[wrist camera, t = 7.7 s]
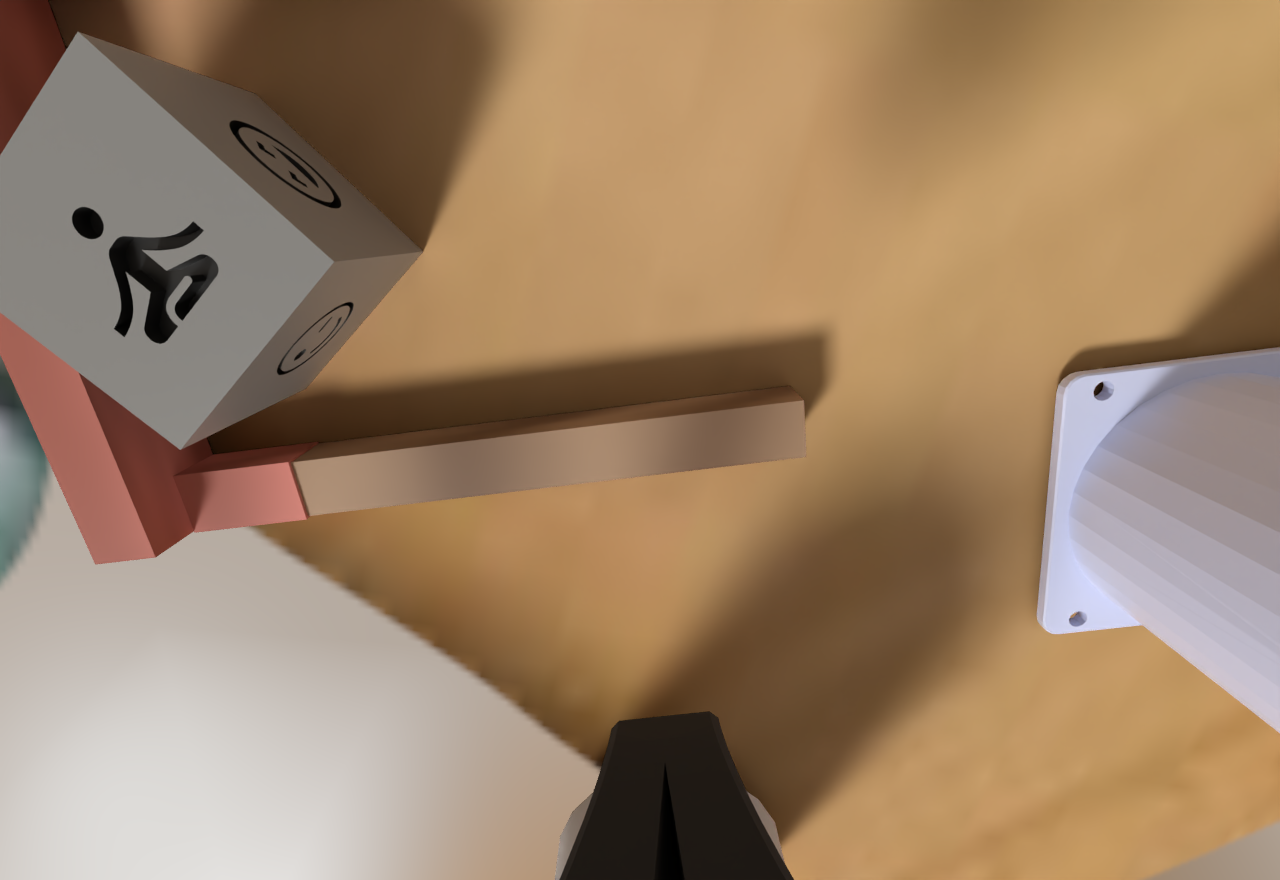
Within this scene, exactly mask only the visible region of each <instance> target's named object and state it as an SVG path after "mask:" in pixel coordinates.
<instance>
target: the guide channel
mask: <svg viewBox="0 0 1280 880" xmlns="http://www.w3.org/2000/svg"><path fill="white" fill-rule="evenodd" d="M65 51H66V49H65V46H64V43H63V40H62V38H61V35H60V32H59V29H58V27H57V24H56V21H55V18H54V15H53V13H52V10H51V7H50V4H49V2H48V0H0V155H1V153H2V152H3V150H4V148H5V147H6V145H7V144H8V142H9V141H10V139H11V137H12V136H13V134H14V133H15V131H16V129H17V128H18V126H19V125H20V123H21V121H22V120H23V118H24V117H25V115H26V113H27V112H28V110H29V109H30V107H31V105H32V104H33V102H34V101H35V99H36V97H37V96H38V94H39V93H40V91H41V89H42V88H43V86H44V85H45V83H46V81H47V80H48V78H49V77H50V75H51V73H52V72H53V70H54V69H55V67H56V66H57V64H58V62H59V61H60V59H61V58H62V56H63V54H64V53H65ZM0 355H1V357H2V359H3V361H4V364H5V366H6V368H7V370H8V372H9V375H10V377H11V379H12V381H13V383H14V386H15V388H16V390H17V392H18V395H19V397H20V399H21V401H22V403H23V406H24V408H25V410H26V412H27V414H28V417H29V419H30V421H31V423H32V425H33V428H34V430H35V432H36V434H37V436H38V439H39V441H40V443H41V445H42V448H43V450H44V452H45V454H46V456H47V459H48V461H49V463H50V465H51V467H52V470H53V472H54V474H55V476H56V478H57V481H58V483H59V485H60V487H61V489H62V492H63V494H64V496H65V498H66V501H67V503H68V505H69V507H70V509H71V512H72V514H73V516H74V518H75V520H76V523H77V525H78V527H79V529H80V531H81V533H82V536H83V538H84V540H85V543H86V545H87V547H88V549H89V551H90V554H91V556H92V558H93V560H94V562H95V564H103V563H112V562H120V561H129V560H138V559H146V558H154V557H157V556H158V555H160V554H161V553H162V552H164V551H165V550H167V549H168V548H170V547H171V546H173V545H174V544H176V543H177V542H179V541H180V540H182V539H183V538H184V537H186V536H187V535H189V534H190V533H192V532H193V531H194V532H204V531H211V530H220V529H229V528H238V527H246V526H255V525H263V524H271V523H280V522H288V521H297V520H305V519H308V518H309V517H310V516H312V515H320V514H329V513H337V512H345V511H354V510H362V509H371V508H379V507H388V506H396V505H405V504H413V503H422V502H430V501H438V500H447V499H455V498H464V497H472V496H481V495H489V494H498V493H506V492H515V491H523V490H531V489H540V488H548V487H557V486H565V485H574V484H582V483H591V482H599V481H608V480H616V479H624V478H633V477H641V476H650V475H658V474H667V473H675V472H684V471H692V470H700V469H709V468H717V467H726V466H734V465H743V464H751V463H760V462H768V461H777V460H785V459H793V458H802V457H806V437H805V413H804V400H803V399H802V398H801V397H800V396H799V395H798V394H797V393H796V392H795V391H794V390H793V388H792V387H791V386H784V387H776V388H768V389H760V390H752V391H743V392H735V393H727V394H719V395H711V396H702V397H694V398H686V399H678V400H670V401H662V402H653V403H645V404H637V405H629V406H621V407H612V408H604V409H596V410H588V411H580V412H572V413H563V414H555V415H547V416H539V417H531V418H522V419H514V420H506V421H498V422H490V423H482V424H473V425H465V426H457V427H449V428H441V429H432V430H424V431H416V432H408V433H400V434H392V435H383V436H375V437H367V438H359V439H351V440H342V441H334V442H326V443H319V442H312V443H303V444H295V445H287V446H279V447H271V448H263V449H254V450H246V451H238V452H230V453H222V454H214V455H213V454H212V451H211V448H210V445H209V443H208V440H207V437H206V438H204V439H202V440H200V441H198V442H196V443H194V444H192V445H189V446H187V447H185V448H183V449H181V450H180V449H178V448H177V447H176V446H174V445H173V444H172V443H171V442H169V441H168V440H167V439H165V438H164V437H163V436H161V435H160V434H159V433H157V432H156V431H155V430H154V429H152V428H151V427H150V426H148V425H147V424H146V423H144V422H143V421H142V420H140V419H139V418H138V417H136V416H135V415H134V414H133V413H131V412H130V411H129V410H127V409H126V408H125V407H123V406H122V405H121V404H119V403H118V402H117V401H115V400H114V399H113V398H112V397H110V396H109V395H108V394H106V393H105V392H104V391H102V390H101V389H100V388H98V387H97V386H96V385H95V384H93V383H92V382H91V381H89V380H88V379H87V378H85V377H84V376H83V375H81V374H80V373H79V372H77V371H76V370H75V369H74V368H72V367H71V366H70V365H68V364H67V363H66V362H64V361H63V360H62V359H60V358H59V357H58V356H56V355H55V354H54V353H53V352H51V351H50V350H49V349H47V348H46V347H45V346H43V345H42V344H41V343H39V342H38V341H37V340H36V339H34V338H33V337H32V336H30V335H29V334H28V333H26V332H25V331H24V330H22V329H21V328H20V327H18V326H17V325H16V324H15V323H13V322H12V321H11V320H9V319H8V318H7V317H5V316H4V315H3V314H1V313H0Z"/></svg>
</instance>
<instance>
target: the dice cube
mask: <svg viewBox="0 0 1280 880" xmlns="http://www.w3.org/2000/svg"><path fill="white" fill-rule="evenodd" d="M422 253H423V251H422V250H421V249H420V248H419V247H418V246H417V245H416V244H415V243H414V242H413V241H412V240H410V239H409V238H408V237H407V236H406V235H405V234H404V233H403V232H402V231H401V230H400V229H399V228H398V227H397V226H396V225H394V224H393V223H392V222H391V221H390V220H389V219H388V218H387V217H386V216H385V215H384V214H383V213H382V212H381V211H380V210H379V209H377V208H376V207H375V206H374V205H373V204H372V203H371V202H370V201H369V200H368V199H367V198H366V197H365V196H364V195H363V194H361V193H360V192H359V191H358V190H357V189H356V188H355V187H354V186H353V185H352V184H351V183H350V182H349V181H348V180H347V179H345V178H344V177H343V176H342V175H341V174H340V173H339V172H338V171H337V170H336V169H335V168H334V167H333V166H332V165H331V164H330V163H328V162H327V161H326V160H325V159H324V158H323V157H322V156H321V155H320V154H319V153H318V152H317V151H316V150H315V149H314V148H312V147H311V146H310V145H309V144H308V143H307V142H306V141H305V140H304V139H303V138H302V137H301V136H300V135H299V134H298V133H296V132H295V131H294V130H293V129H292V128H291V127H290V126H289V125H288V124H287V123H286V122H285V121H284V120H283V119H282V118H281V117H279V116H278V115H277V114H276V113H275V112H274V111H273V110H272V109H271V108H270V107H269V106H268V105H267V104H266V103H265V102H263V101H262V100H261V99H260V98H259V97H258V96H257V95H256V94H255V93H252V92H249V91H246V90H243V89H241V88H238V87H235V86H232V85H229V84H226V83H223V82H221V81H218V80H215V79H212V78H209V77H206V76H203V75H201V74H198V73H195V72H192V71H189V70H186V69H183V68H181V67H178V66H175V65H172V64H169V63H166V62H163V61H161V60H158V59H155V58H152V57H149V56H146V55H143V54H141V53H138V52H135V51H132V50H129V49H126V48H123V47H121V46H118V45H115V44H112V43H109V42H106V41H103V40H101V39H98V38H95V37H92V36H89V35H86V34H83V33H81V32H77V34H76V35H75V37H74V38H73V40H72V42H71V43H70V45H69V46H68V48H67V50H66V51H65V53H64V54H63V56H62V58H61V59H60V61H59V62H58V64H57V66H56V67H55V69H54V70H53V72H52V73H51V75H50V77H49V78H48V80H47V81H46V83H45V85H44V86H43V88H42V89H41V91H40V93H39V94H38V96H37V97H36V99H35V101H34V102H33V104H32V105H31V107H30V109H29V110H28V112H27V113H26V115H25V117H24V118H23V120H22V121H21V123H20V125H19V126H18V128H17V129H16V131H15V133H14V134H13V136H12V137H11V139H10V141H9V142H8V144H7V145H6V147H5V148H4V150H3V152H2V153H1V155H0V313H1V314H3V315H4V316H5V317H7V318H8V319H9V320H11V321H12V322H13V323H15V324H16V325H17V326H18V327H20V328H21V329H22V330H24V331H25V332H26V333H28V334H29V335H30V336H32V337H33V338H34V339H36V340H37V341H38V342H39V343H41V344H42V345H43V346H45V347H46V348H47V349H49V350H50V351H51V352H53V353H54V354H55V355H56V356H58V357H59V358H60V359H62V360H63V361H64V362H66V363H67V364H68V365H70V366H71V367H72V368H74V369H75V370H76V371H77V372H79V373H80V374H81V375H83V376H84V377H85V378H87V379H88V380H89V381H91V382H92V383H93V384H95V385H96V386H97V387H98V388H100V389H101V390H102V391H104V392H105V393H106V394H108V395H109V396H110V397H112V398H113V399H114V400H115V401H117V402H118V403H119V404H121V405H122V406H123V407H125V408H126V409H127V410H129V411H130V412H131V413H133V414H134V415H135V416H136V417H138V418H139V419H140V420H142V421H143V422H144V423H146V424H147V425H148V426H150V427H151V428H152V429H154V430H155V431H156V432H157V433H159V434H160V435H161V436H163V437H164V438H165V439H167V440H168V441H169V442H171V443H172V444H173V445H174V446H176V447H177V448H178V449H180V450H181V449H183V448H185V447H187V446H189V445H192V444H194V443H196V442H198V441H200V440H202V439H204V438H206V437H208V436H210V435H212V434H214V433H216V432H218V431H220V430H222V429H224V428H226V427H228V426H230V425H232V424H235V423H237V422H239V421H241V420H243V419H245V418H247V417H249V416H251V415H253V414H255V413H257V412H259V411H261V410H263V409H265V408H267V407H269V406H271V405H273V404H275V403H278V402H280V401H282V400H284V399H286V398H288V397H290V396H292V395H294V394H296V393H298V392H300V391H302V390H304V389H306V388H307V387H308V386H309V384H310V383H311V382H312V381H313V380H314V379H315V377H316V376H317V375H318V374H319V373H320V372H321V370H322V369H323V368H324V367H325V366H326V365H327V363H328V362H329V361H330V360H331V359H332V358H333V356H334V355H335V354H336V353H337V352H338V351H339V349H340V348H341V347H342V346H343V345H344V344H345V342H346V341H347V340H348V339H349V338H350V337H351V335H352V334H353V333H354V332H355V331H356V330H357V328H358V327H359V326H360V325H361V324H362V323H363V321H364V320H365V319H366V318H367V317H368V316H369V314H370V313H371V312H372V311H373V310H374V309H375V307H376V306H377V305H378V304H379V303H380V302H381V300H382V299H383V298H384V297H385V296H386V295H387V293H388V292H389V291H390V290H391V289H392V288H393V286H394V285H395V284H396V283H397V282H398V281H399V279H400V278H401V277H402V276H403V275H404V274H405V272H406V271H407V270H408V269H409V268H410V267H411V265H412V264H413V263H414V262H415V261H416V260H417V258H418V257H419V256H420V255H421V254H422Z"/></svg>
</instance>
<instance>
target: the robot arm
mask: <svg viewBox="0 0 1280 880" xmlns="http://www.w3.org/2000/svg"><path fill="white" fill-rule="evenodd" d="M1100 382H1103V385H1104V386H1103V389H1102V391H1101V392H1100V393H1099V394H1098V395H1096V396H1094V393H1093V392H1094V389H1095V387H1096V386H1097V385H1098V384H1099V383H1100ZM1075 612H1077V614H1076V615H1075V616H1074V617H1073V618H1070V616H1071V615H1072V614H1073V613H1075ZM1069 618H1070V619H1069ZM1037 621H1038V622H1039V624H1040V625H1041V626H1042V627H1043V628H1044V629H1045V630H1046V631H1047V632H1050V633H1052V634H1064V633H1073V632H1082V631H1092V630H1101V629H1110V628H1120V627H1129V626H1138V625H1143V626H1144V627H1146V628H1147V629H1148V630H1149V631H1151V632H1152V633H1153V634H1154V635H1156V636H1157V637H1158V638H1160V639H1161V640H1162V641H1163V642H1165V643H1166V644H1167V645H1168V646H1170V647H1171V648H1172V649H1174V650H1175V651H1176V652H1177V653H1179V654H1180V655H1181V656H1182V657H1184V658H1185V659H1186V660H1188V661H1189V662H1190V663H1191V664H1193V665H1194V666H1195V667H1196V668H1198V669H1199V670H1200V671H1201V672H1203V673H1204V674H1205V675H1207V676H1208V677H1209V678H1210V679H1212V680H1213V681H1214V682H1215V683H1217V684H1218V685H1219V686H1221V687H1222V688H1223V689H1224V690H1226V691H1227V692H1228V693H1229V694H1231V695H1232V696H1233V697H1235V698H1236V699H1237V700H1238V701H1240V702H1241V703H1242V704H1243V705H1245V706H1246V707H1247V708H1249V709H1250V710H1251V711H1252V712H1254V713H1255V714H1256V715H1257V716H1259V717H1260V718H1261V719H1263V720H1264V721H1265V722H1266V723H1268V724H1269V725H1270V726H1271V727H1273V728H1274V729H1275V730H1276V731H1278V732H1279V733H1280V347H1277V348H1268V349H1260V350H1252V351H1244V352H1235V353H1227V354H1219V355H1211V356H1202V357H1194V358H1186V359H1178V360H1169V361H1161V362H1153V363H1145V364H1136V365H1128V366H1120V367H1112V368H1103V369H1095V370H1087V371H1079V372H1075V373H1071V374H1069V375H1068V376H1066V377H1065V378H1064V379H1063V380H1062V381H1061V383H1060V384H1059V385H1058V389H1057V393H1056V404H1055V415H1054V427H1053V438H1052V449H1051V461H1050V472H1049V483H1048V494H1047V506H1046V517H1045V528H1044V540H1043V551H1042V562H1041V574H1040V585H1039V596H1038V608H1037ZM559 880H794V879H793V877H792V875H791V874H790V872H789V870H788V869H787V867H786V865H785V863H784V861H783V859H782V858H781V856H780V854H779V852H778V850H777V848H776V847H775V845H774V843H773V841H772V839H771V838H770V836H769V834H768V832H767V830H766V828H765V827H764V825H763V823H762V821H761V819H760V817H759V815H758V813H757V811H756V809H755V807H754V805H753V803H752V801H751V799H750V797H749V795H748V793H747V791H746V789H745V787H744V785H743V782H742V780H741V778H740V776H739V774H738V772H737V769H736V767H735V765H734V762H733V760H732V758H731V755H730V753H729V750H728V748H727V745H726V742H725V739H724V736H723V733H722V730H721V727H720V723H719V719H718V717H716V716H715V715H714V714H712V713H711V712H699V713H690V714H680V715H671V716H661V717H652V718H642V719H633V720H623V721H619V722H618V723H617V724H616V725H615V726H614V727H613V728H612V730H611V734H610V739H609V743H608V747H607V750H606V754H605V757H604V761H603V764H602V768H601V771H600V774H599V777H598V780H597V783H596V786H595V789H594V792H593V794H592V797H591V800H590V803H589V806H588V809H587V811H586V814H585V817H584V820H583V822H582V825H581V827H580V830H579V832H578V835H577V837H576V840H575V842H574V845H573V847H572V850H571V852H570V855H569V857H568V860H567V862H566V865H565V867H564V870H563V872H562V875H561V877H560V879H559Z"/></svg>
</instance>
